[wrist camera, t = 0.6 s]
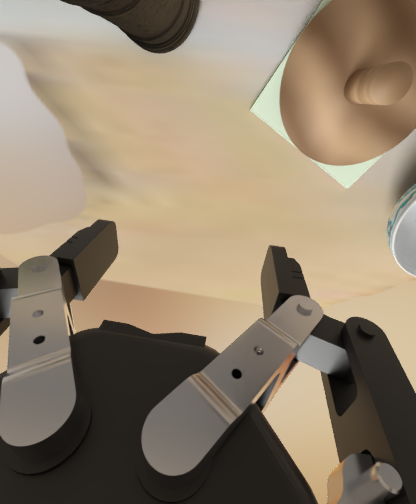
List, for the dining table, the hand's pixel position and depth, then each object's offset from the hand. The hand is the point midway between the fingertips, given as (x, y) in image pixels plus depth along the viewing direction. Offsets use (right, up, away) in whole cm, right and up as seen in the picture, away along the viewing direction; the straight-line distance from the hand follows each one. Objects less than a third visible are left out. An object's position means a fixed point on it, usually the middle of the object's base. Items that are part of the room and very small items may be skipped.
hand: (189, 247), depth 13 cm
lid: (+18, +19, +16) cm, 30 cm away
